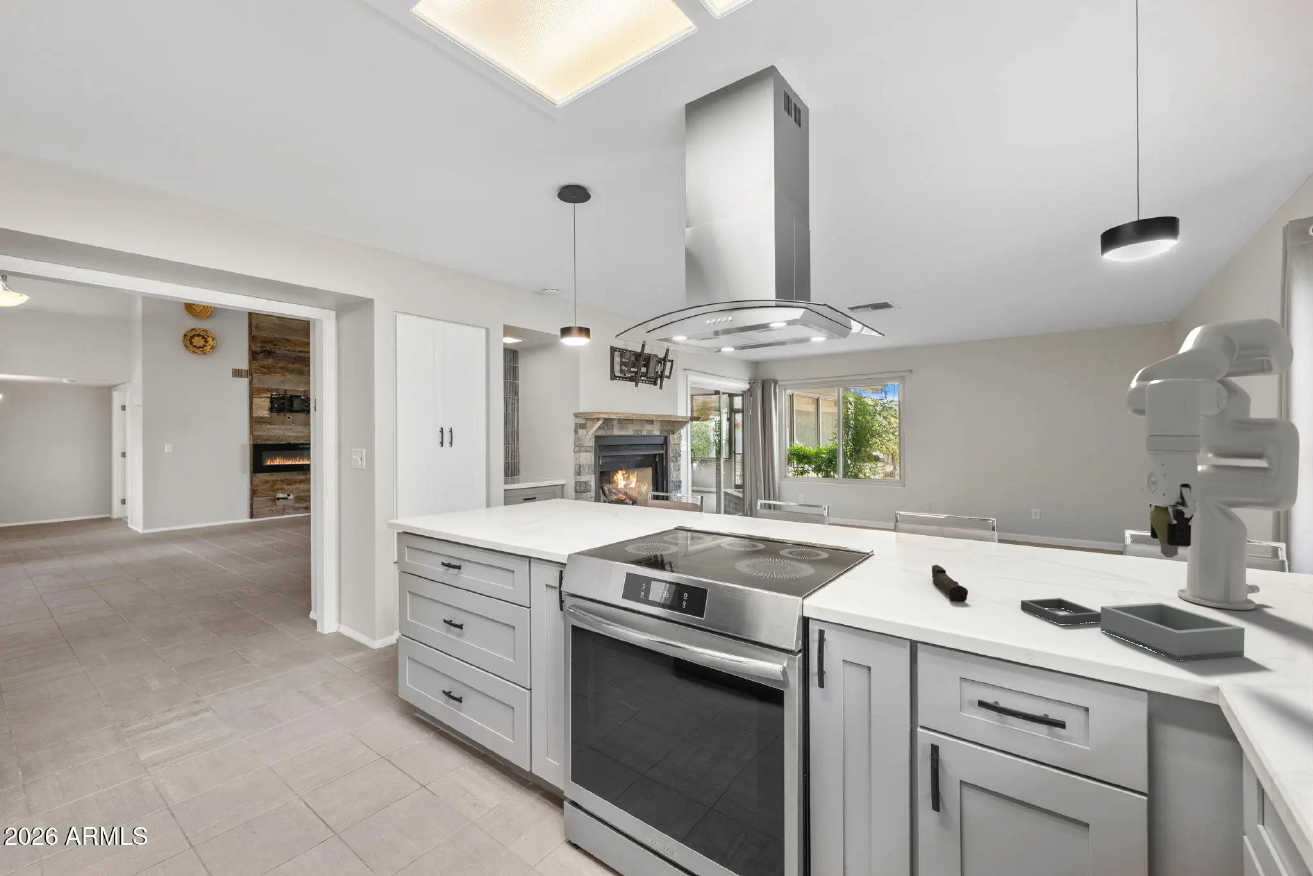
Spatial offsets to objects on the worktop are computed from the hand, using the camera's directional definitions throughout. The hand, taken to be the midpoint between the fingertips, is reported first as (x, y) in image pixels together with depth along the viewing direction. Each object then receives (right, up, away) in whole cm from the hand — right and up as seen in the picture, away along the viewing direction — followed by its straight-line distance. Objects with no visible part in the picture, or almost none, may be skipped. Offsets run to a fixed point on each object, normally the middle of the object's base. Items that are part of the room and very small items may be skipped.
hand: (1169, 541), depth 103 cm
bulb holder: (-9, -19, +15) cm, 26 cm away
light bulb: (0, -3, 0) cm, 3 cm away
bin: (0, -19, 0) cm, 19 cm away
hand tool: (-25, -19, +34) cm, 46 cm away
